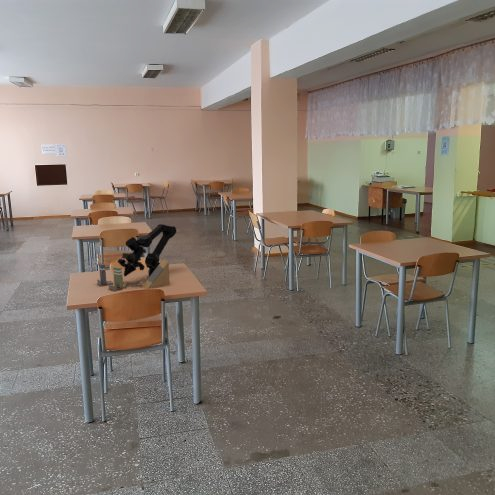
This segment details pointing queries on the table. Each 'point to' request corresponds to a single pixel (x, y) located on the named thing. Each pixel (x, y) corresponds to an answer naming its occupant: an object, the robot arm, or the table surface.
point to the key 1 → (102, 273)
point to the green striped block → (118, 276)
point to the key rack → (110, 285)
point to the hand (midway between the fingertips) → (124, 276)
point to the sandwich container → (158, 276)
